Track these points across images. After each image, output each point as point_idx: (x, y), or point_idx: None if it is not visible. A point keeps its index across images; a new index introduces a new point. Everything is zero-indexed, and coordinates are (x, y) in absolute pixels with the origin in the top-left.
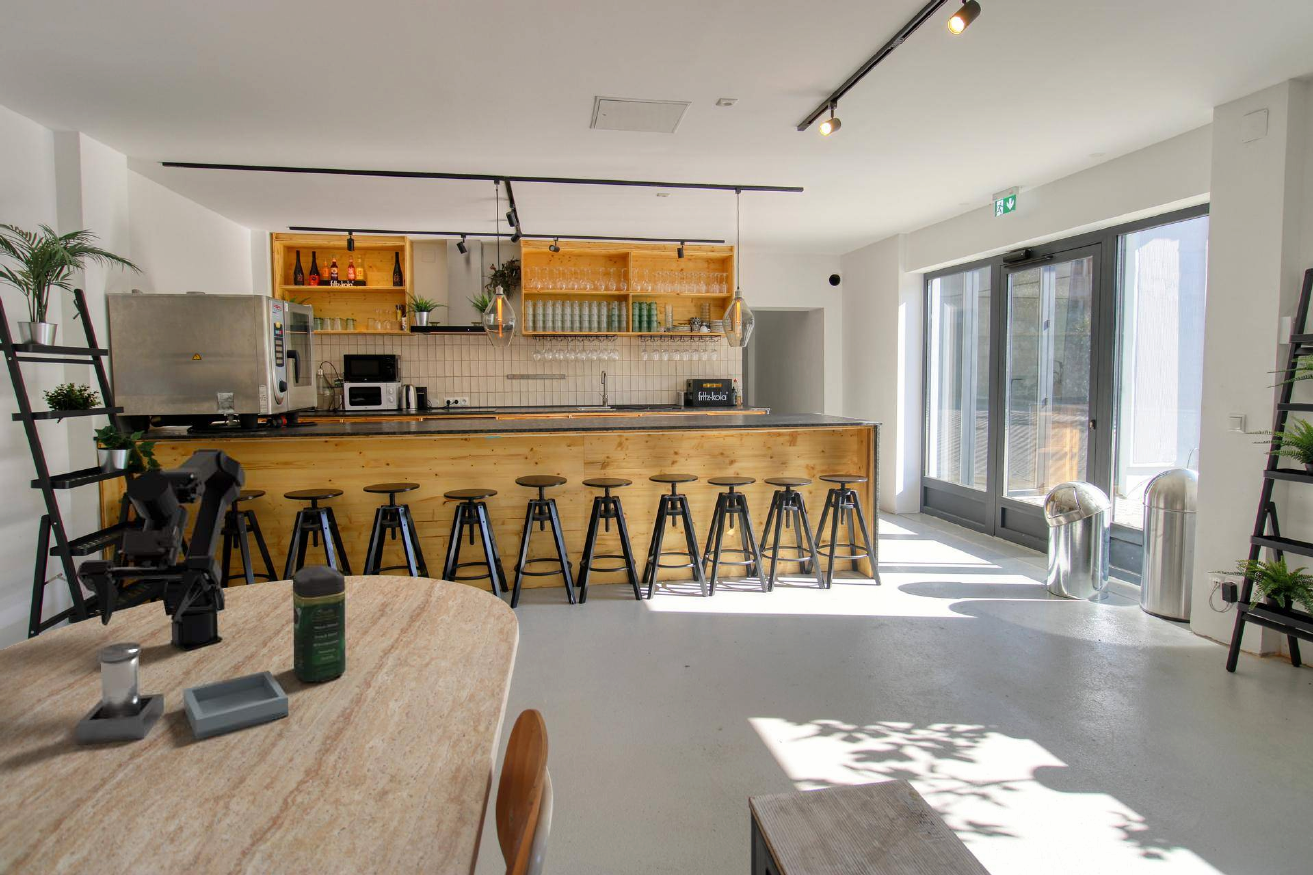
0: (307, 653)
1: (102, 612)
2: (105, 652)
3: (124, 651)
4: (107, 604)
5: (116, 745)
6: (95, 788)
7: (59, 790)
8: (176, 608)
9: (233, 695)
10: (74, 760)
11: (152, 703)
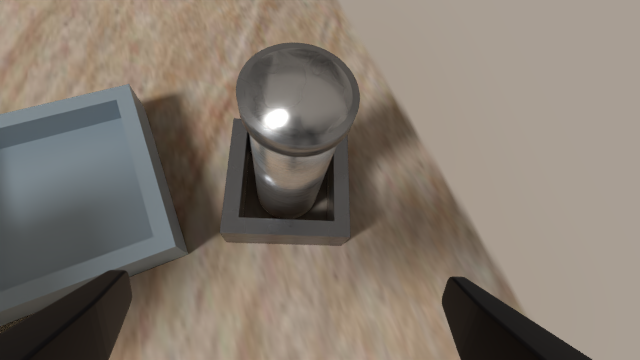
0: None
1: (502, 305)
2: (332, 74)
3: (275, 65)
4: (523, 347)
5: None
6: (264, 23)
7: (307, 32)
8: (66, 302)
9: (66, 262)
10: None
11: (232, 183)
